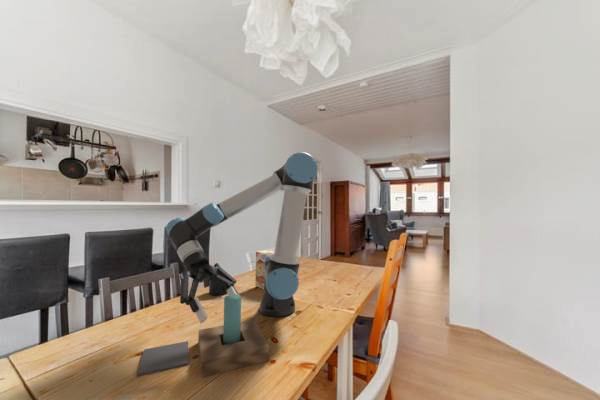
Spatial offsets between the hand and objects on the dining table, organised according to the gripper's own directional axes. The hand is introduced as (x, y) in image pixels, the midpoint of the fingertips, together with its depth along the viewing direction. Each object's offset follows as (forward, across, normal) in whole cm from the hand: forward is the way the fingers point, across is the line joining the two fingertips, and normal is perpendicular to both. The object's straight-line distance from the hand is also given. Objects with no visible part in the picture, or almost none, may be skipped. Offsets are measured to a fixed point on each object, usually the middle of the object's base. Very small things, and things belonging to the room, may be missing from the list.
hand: (222, 312), depth 77 cm
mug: (-20, -34, -36) cm, 53 cm away
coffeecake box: (-9, -54, -25) cm, 60 cm away
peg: (+10, -1, -6) cm, 12 cm away
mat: (+1, +12, -15) cm, 19 cm away
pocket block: (+10, -1, -6) cm, 12 cm away
